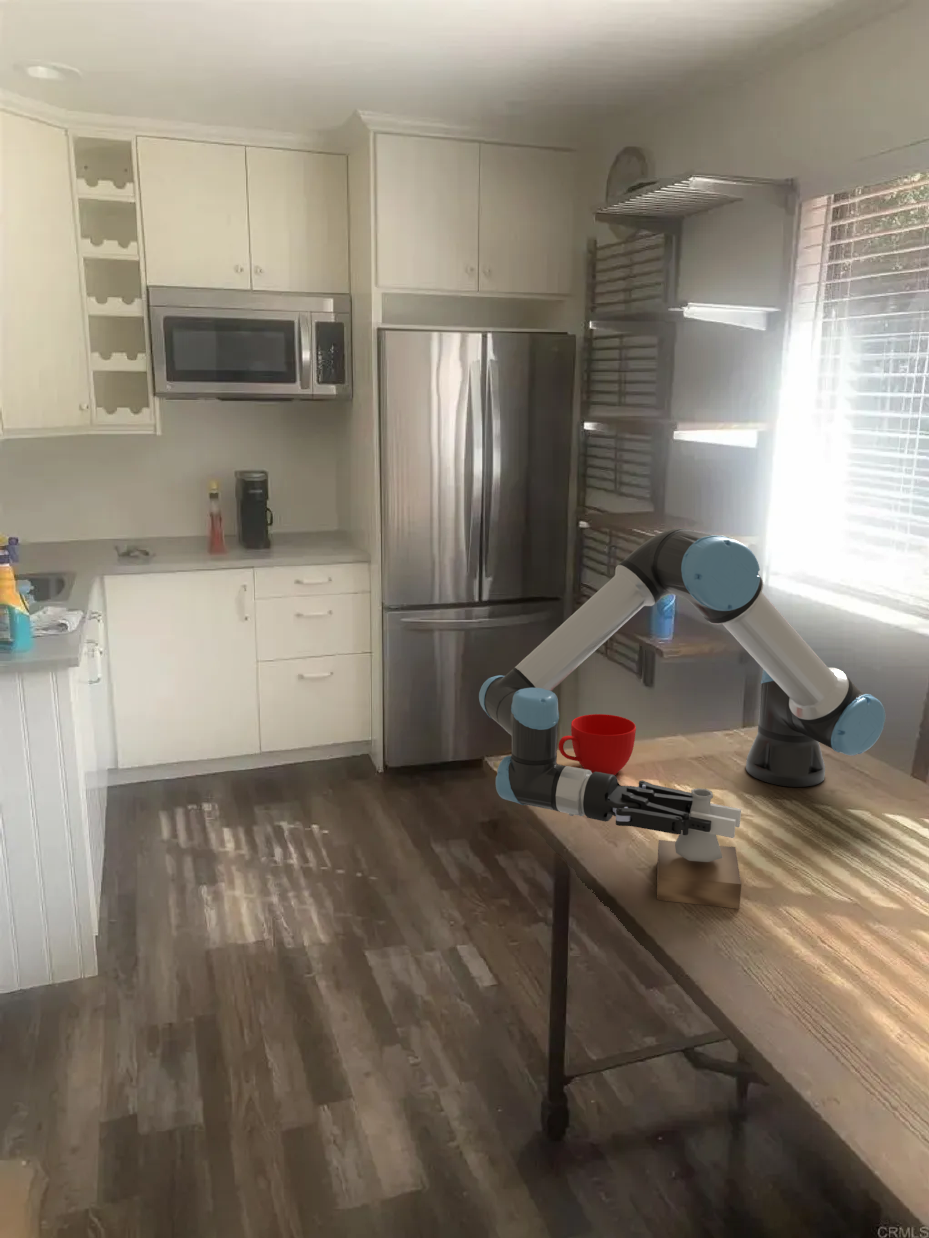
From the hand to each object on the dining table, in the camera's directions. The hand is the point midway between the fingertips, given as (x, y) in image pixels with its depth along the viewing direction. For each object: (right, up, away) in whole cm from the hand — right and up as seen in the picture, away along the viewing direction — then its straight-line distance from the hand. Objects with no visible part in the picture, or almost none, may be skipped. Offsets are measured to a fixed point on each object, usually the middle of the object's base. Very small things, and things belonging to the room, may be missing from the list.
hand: (737, 823), depth 138 cm
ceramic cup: (-15, -1, +49) cm, 51 cm away
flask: (-5, -6, +4) cm, 8 cm away
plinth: (-5, -11, +5) cm, 13 cm away
